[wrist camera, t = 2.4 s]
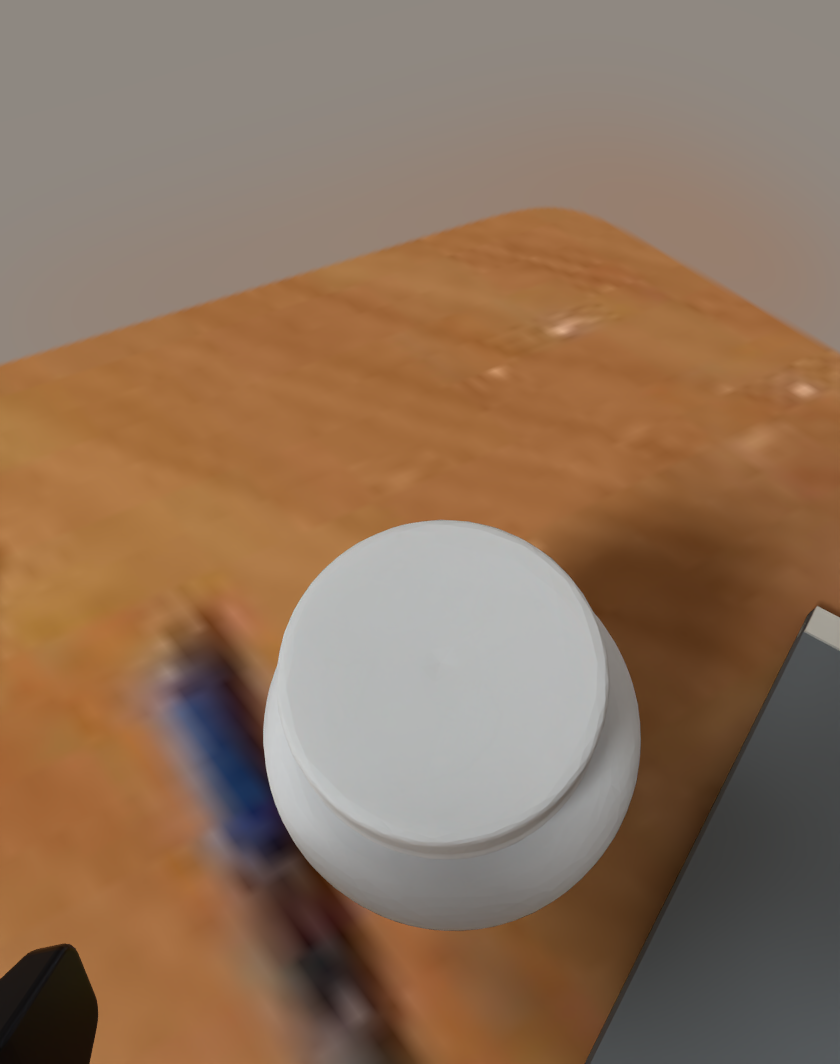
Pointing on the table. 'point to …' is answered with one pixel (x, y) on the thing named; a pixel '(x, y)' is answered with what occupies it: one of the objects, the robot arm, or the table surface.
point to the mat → (753, 896)
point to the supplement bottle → (450, 727)
